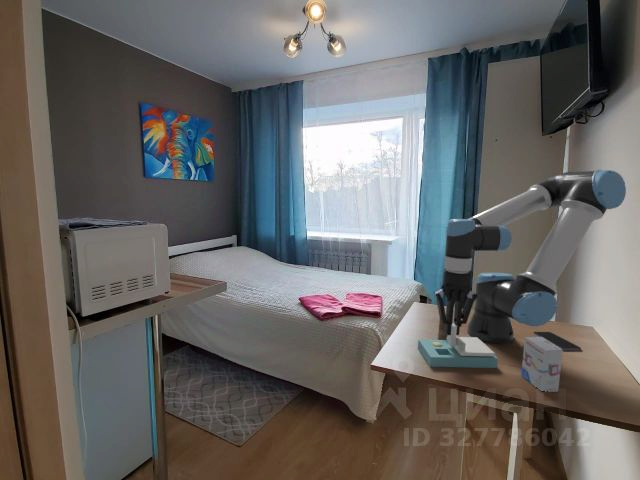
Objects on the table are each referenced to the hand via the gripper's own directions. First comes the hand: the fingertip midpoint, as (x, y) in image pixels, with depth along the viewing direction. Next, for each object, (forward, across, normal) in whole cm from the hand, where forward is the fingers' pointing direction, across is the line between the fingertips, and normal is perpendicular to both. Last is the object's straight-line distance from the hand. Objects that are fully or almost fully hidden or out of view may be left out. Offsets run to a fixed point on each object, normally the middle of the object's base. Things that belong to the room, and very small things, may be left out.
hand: (451, 344), depth 106 cm
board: (+4, -2, 0) cm, 5 cm away
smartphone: (+5, -43, -14) cm, 46 cm away
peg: (+4, -2, -11) cm, 12 cm away
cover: (+1, -6, 0) cm, 6 cm away
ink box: (+5, -19, +14) cm, 24 cm away
